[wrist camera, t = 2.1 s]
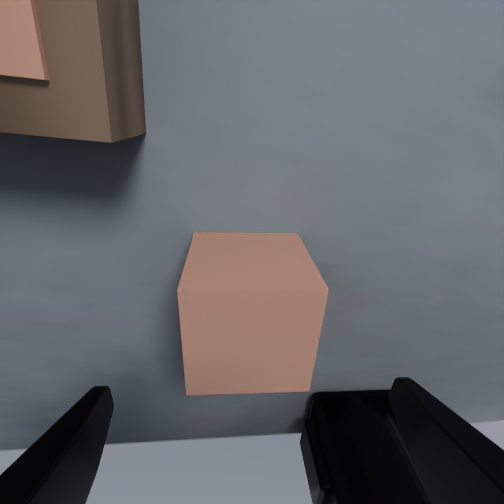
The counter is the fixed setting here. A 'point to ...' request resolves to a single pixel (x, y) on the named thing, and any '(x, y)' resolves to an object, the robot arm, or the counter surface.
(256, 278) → the terracotta cube
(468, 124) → the counter surface
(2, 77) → the oak base block
